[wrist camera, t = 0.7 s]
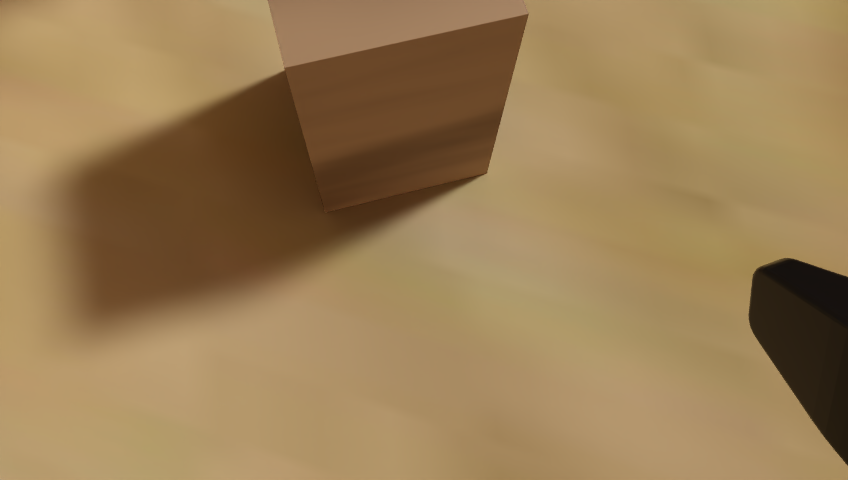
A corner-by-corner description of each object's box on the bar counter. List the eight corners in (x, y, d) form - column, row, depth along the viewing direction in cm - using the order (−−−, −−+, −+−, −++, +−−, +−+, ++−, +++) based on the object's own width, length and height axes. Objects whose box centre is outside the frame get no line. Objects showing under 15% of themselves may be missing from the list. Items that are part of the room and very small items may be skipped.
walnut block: (486, 173, 26) (528, 13, 17) (325, 212, 25) (284, 68, 16) (442, 34, 27) (460, -175, 19) (289, 68, 27) (235, -132, 18)
